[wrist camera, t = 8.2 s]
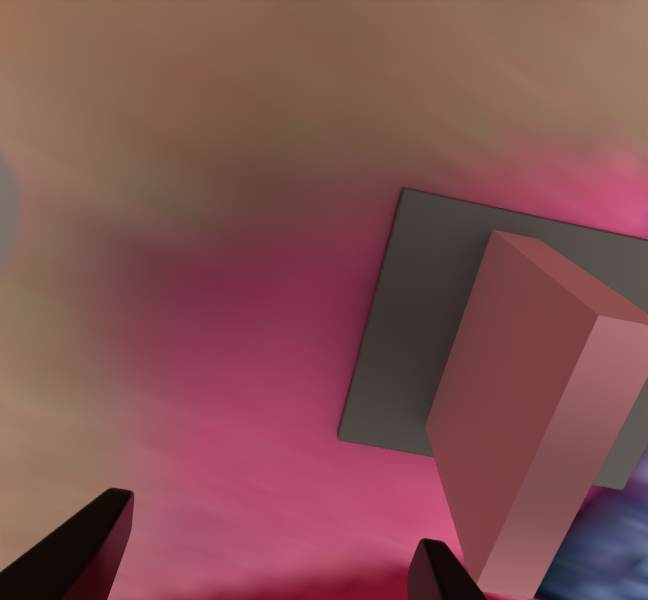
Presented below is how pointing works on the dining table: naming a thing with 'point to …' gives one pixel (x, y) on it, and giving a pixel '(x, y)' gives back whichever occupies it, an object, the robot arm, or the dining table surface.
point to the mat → (447, 311)
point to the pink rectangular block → (531, 406)
